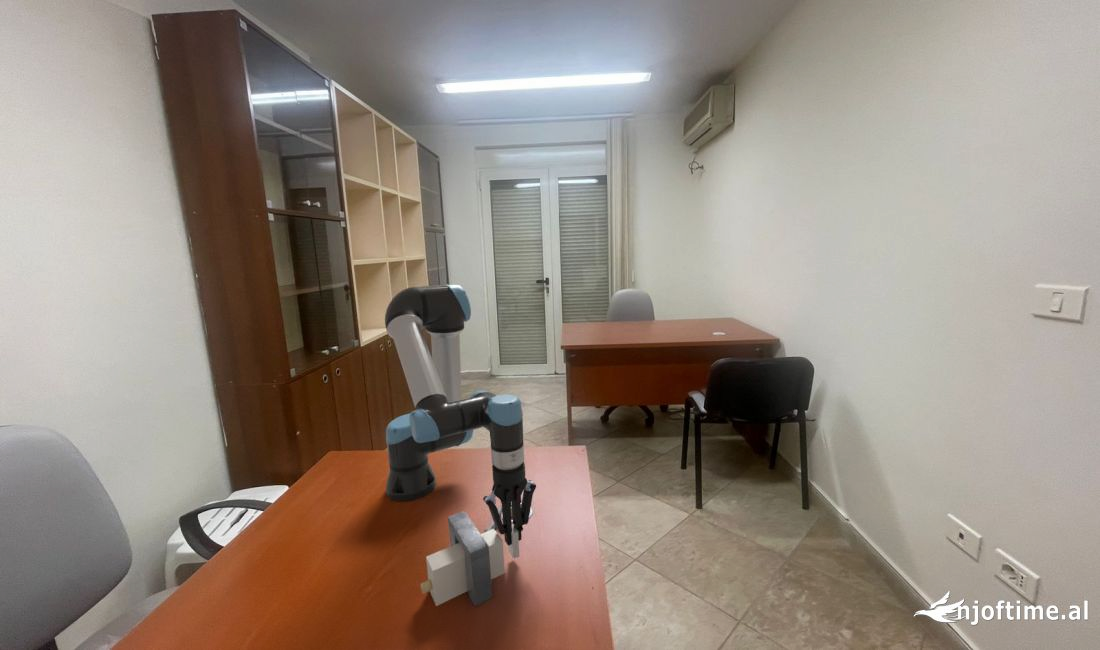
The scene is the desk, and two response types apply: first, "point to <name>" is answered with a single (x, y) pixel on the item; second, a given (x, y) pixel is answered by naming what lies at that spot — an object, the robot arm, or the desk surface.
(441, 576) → the plug
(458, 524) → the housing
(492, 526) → the caliper
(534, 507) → the desk surface
